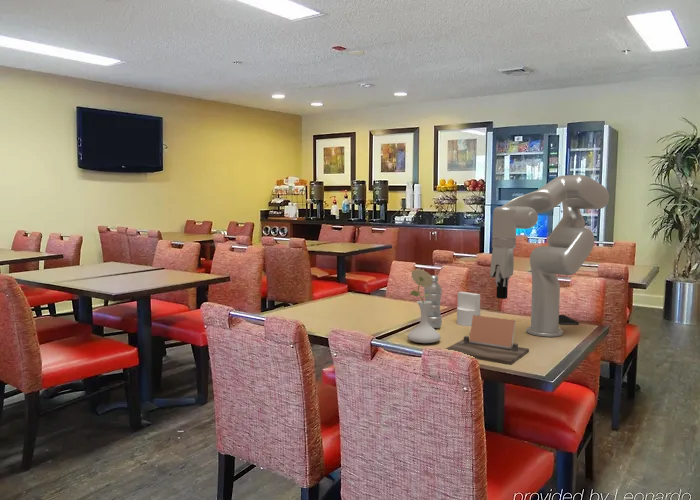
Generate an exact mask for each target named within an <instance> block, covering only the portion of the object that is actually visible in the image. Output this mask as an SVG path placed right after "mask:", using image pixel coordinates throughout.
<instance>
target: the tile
mask: <svg viewBox="0 0 700 500" xmlns="http://www.w3.org/2000/svg"><path fill="white" fill-rule="evenodd" d="M516 322H517V320H514V319H508V318H507V319H506V318H501V317H500V318H499V317H490V316H485V315H484V316H482V315H480V316H476V315H473V319H472V325H471V326H470V334H469V343H472V344H478V345H485V346H491V347H498V348H504V349H510V350H512V346H513V344H514V337H515V328H516Z"/></svg>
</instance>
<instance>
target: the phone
mask: <svg viewBox="0 0 700 500" xmlns="http://www.w3.org/2000/svg"><path fill="white" fill-rule="evenodd" d="M559 324H560V325H559V326H579V324H580V323H579V321H577V320H576V319H573V318H571V317H569V316H567V315H565V314H559Z"/></svg>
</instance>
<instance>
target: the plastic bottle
mask: <svg viewBox="0 0 700 500" xmlns="http://www.w3.org/2000/svg"><path fill="white" fill-rule="evenodd" d="M430 275H431V274H430ZM430 277H431V278H432V283H431V284H432V285H431V286H429V287H423V292H424V294H423V295H424V296H425V295H426V294H429V293H430V294H429V295H428V296H426V297H424V299H425V300H424V301H431V302H432V303H431V304H430V306H429V308H428V316H427V319H428V323H429V325H430V326H431V327H432V328H434V329H440V328H441V326H442V325H443V324H442V323H443V321H442V316H441V298H442V292H443V291H442V286H441V285H440V284H439V276H438V275H435V274H432V275H431V276H430Z"/></svg>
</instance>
